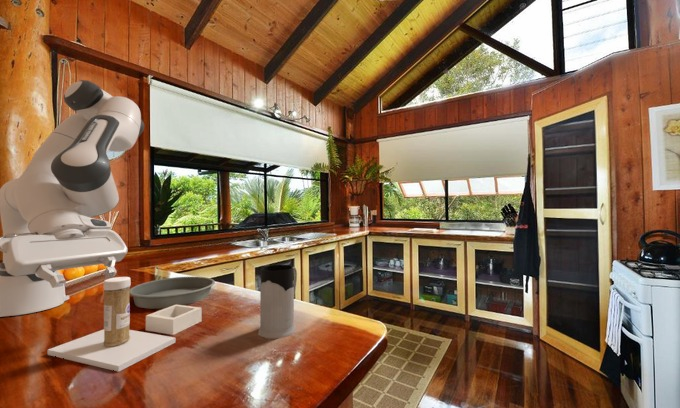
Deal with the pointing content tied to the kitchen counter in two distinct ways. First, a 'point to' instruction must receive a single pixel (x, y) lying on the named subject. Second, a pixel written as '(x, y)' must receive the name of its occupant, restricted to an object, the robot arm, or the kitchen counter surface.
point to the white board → (112, 349)
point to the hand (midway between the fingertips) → (87, 280)
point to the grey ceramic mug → (277, 301)
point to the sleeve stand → (173, 319)
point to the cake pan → (171, 292)
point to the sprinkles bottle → (116, 311)
